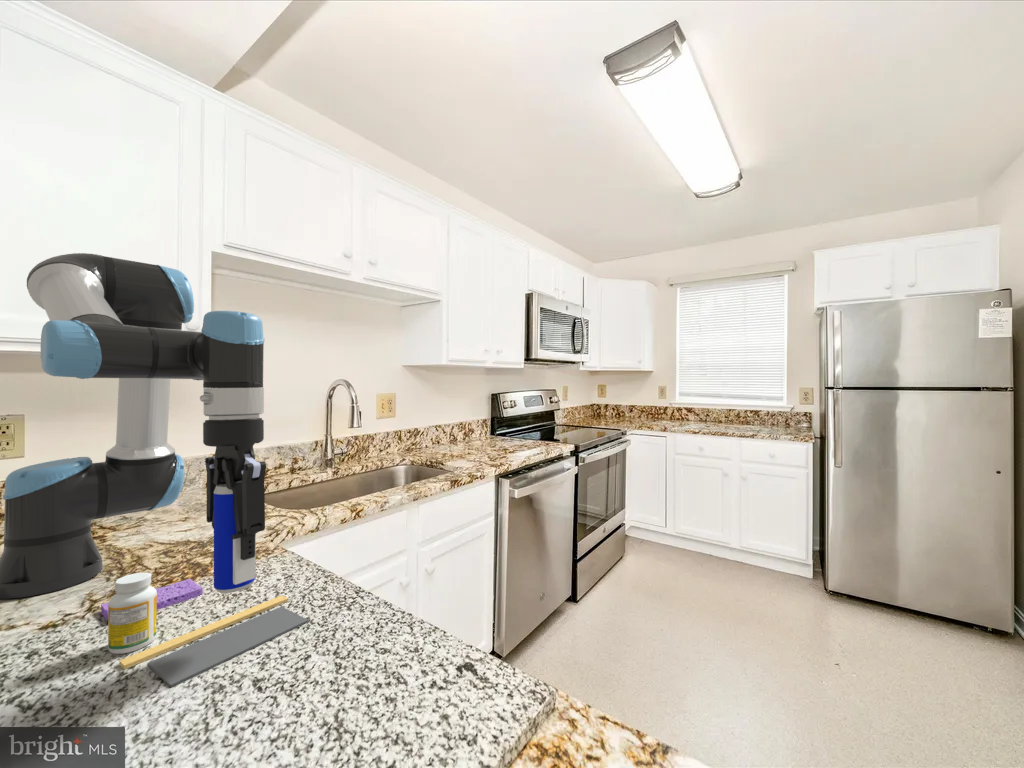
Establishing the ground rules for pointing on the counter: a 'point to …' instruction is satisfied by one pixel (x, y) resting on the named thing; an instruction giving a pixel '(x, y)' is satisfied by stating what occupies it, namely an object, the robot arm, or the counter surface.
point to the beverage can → (224, 541)
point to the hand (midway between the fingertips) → (234, 575)
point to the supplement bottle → (132, 614)
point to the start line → (199, 633)
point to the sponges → (170, 595)
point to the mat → (224, 646)
